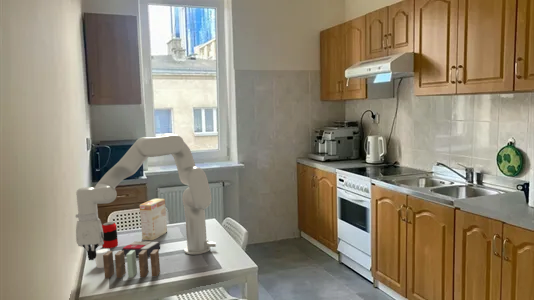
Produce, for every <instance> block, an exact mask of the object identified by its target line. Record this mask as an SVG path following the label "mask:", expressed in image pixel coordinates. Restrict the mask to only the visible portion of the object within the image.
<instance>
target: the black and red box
mask: <svg viewBox="0 0 534 300" xmlns="http://www.w3.org/2000/svg"><path fill="white" fill-rule="evenodd" d="M155 249H158V250H159V251H160V250H161V244H160V242H159V241H146V240H142V241H138V240H137V241H132V242H131V243H129V244H128V245H126V246H124V247H122V249H121V251H124V256H127V255H126V254H127V253H128V252H129V251H131V250H135V252H136V256H138V254H139V253H140V252H141V251H142V250H147V257H150V256H149V255H150V253H151V252H152V251H153V250H155Z"/></svg>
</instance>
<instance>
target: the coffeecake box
mask: <svg viewBox="0 0 534 300" xmlns="http://www.w3.org/2000/svg"><path fill="white" fill-rule="evenodd" d="M139 213H140V214H139V215H140V225H141V227H140V228H141V240H142V241H154V240H156V239H158V238H159V237H161V236H163V235H165V234H166V232H167V233H168V223H167V212H166V199H165V198H152V199H150V200H148V201H145V202H143V203H141V204H139Z"/></svg>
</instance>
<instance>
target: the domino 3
mask: <svg viewBox="0 0 534 300" xmlns="http://www.w3.org/2000/svg"><path fill="white" fill-rule="evenodd" d="M125 256H126V263H127V277H128V278H129V279H130V278H135V276H136V275H137V273H138V267H137V266H138V265H137V255H136V252H135V250H131V251H129V252H128V253H127V254H126V255H125Z"/></svg>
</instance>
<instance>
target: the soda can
mask: <svg viewBox="0 0 534 300" xmlns="http://www.w3.org/2000/svg"><path fill="white" fill-rule="evenodd" d="M102 228H103V235H104V239H103V242H104V244H103V245H102V249H104V248H107V249H113V248H116V247H118V246H119V240H118V239H119V238H118V232H117V231H118V229H117V228H118V227H117V224H116V223H115V222H113V221H111V222H110V221H109V222H108V221H107V222H105V223H102Z"/></svg>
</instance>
